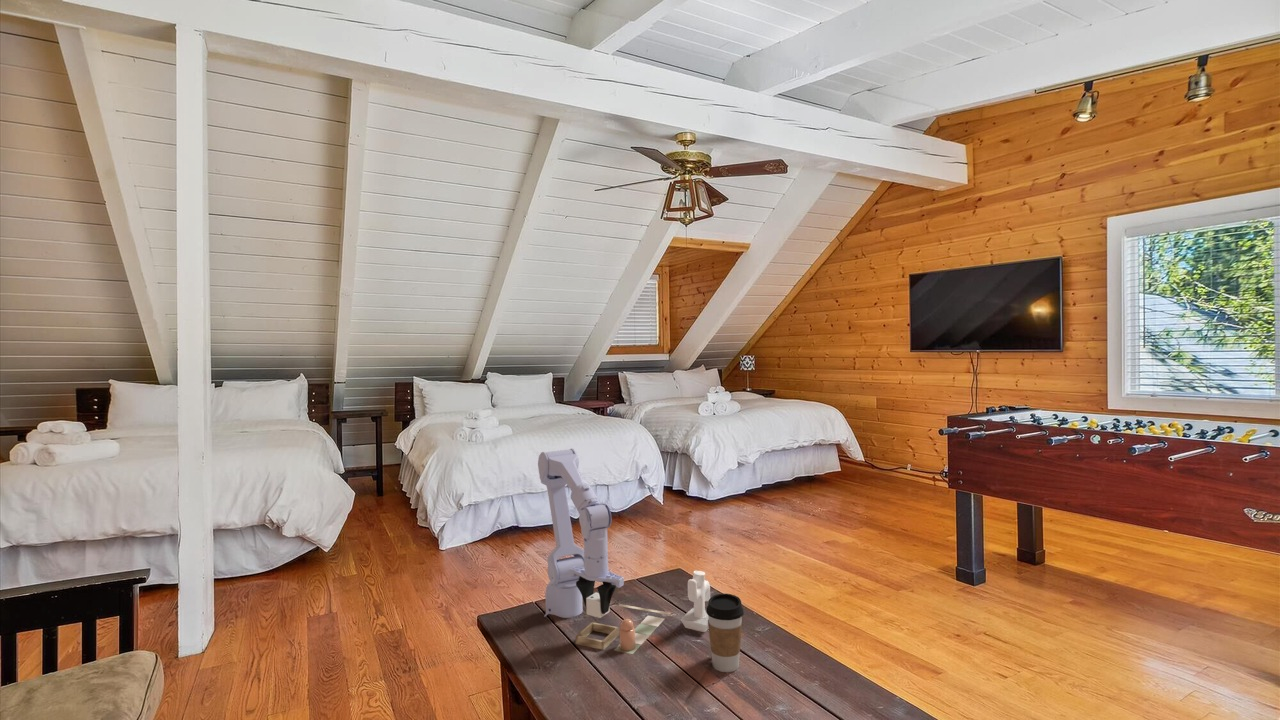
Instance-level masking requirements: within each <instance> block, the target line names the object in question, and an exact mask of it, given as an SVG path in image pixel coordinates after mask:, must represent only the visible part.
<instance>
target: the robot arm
mask: <svg viewBox="0 0 1280 720" xmlns="http://www.w3.org/2000/svg"><path fill="white" fill-rule="evenodd" d="M579 462H580V459H579V455H578V452H577V451H576V450H575V448H569V449H563V450H562V449H561V450H554V451H542V452H540V454H539V456H538V460H537V468H538V475H539V479H540V483H541V484H542V485H545V486H546V488H547V489H546V491H547V495H548V501H549V507H550V508H549V509H550V515H551V520H552V527H553V535H554V541H555V547H554V549H553V550H552V551H551V552H549V554H548V556H547V559H546V560H547V576H548V579H549V581H548V584H547V585H546V589H545V595H544V596H545V614H544V616H543V617H544V618H545V617H547V616H548V615H553V616H557V617H560V618H563V619H572V618H573V619H574V618H575V617H577V616H580V614H582V613H583V612H584V610H583V608H584V607H583V603H584V606H585V611H587V607H586V598H587V597H589V596H591V595H592V594H594V593H595V584H596V582H598V583H601V584H600V585H598V586H597V587H596V590H597V593H599V596H600V602H601V613H602V614H605V613H606V612H608V611H609V605H611V601H612V598H613V595H614V592H615V590H616V589H617V588H621V587H623V586H625V578H624V576H621V575H618V574H616V573H614V572H612V571H609V552H608V551H609V549H608V548H609V547H608V545H609V543H608V542H609V541H608V528H610V527H611V525H612V521H613V520H612V513H611V508H610V506H609V505H608V503H605V502H603V501H600V500H599V498H598V497H597V495H596V493H595V491H594V489H593V487H592V486H590V484H586V483H585V482H584V481H583V478H582V475H581V474H580V472H579V471H580V470H579ZM566 486H568V488H569V489H570V491H571V492H570V499H571V501H572V503H573V505H574V507H575V508H576V509H575V510H577V513H578V514H579V516H578V521H579V525H580V529H581V530H580V531H581V537H582V538H583V548H582V547H580V546H578V545H577V544H575V540H574V534H573V527H572V522H571V520H572V519H571V514H570V508H569V504H568V503H569V501H568V497H567V490H566ZM568 556H569V557H568ZM564 557H565V558H564ZM608 613H609V612H608Z"/></svg>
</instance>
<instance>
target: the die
mask: <svg viewBox="0 0 1280 720" xmlns="http://www.w3.org/2000/svg"><path fill="white" fill-rule="evenodd" d="M610 605H611V604H610ZM610 605H609V611H608V612H606V613H605V614H602V613H601V602H600V596H599V592H594V594H592V595H591V596H589V597H587V598H586V607H587V610H586V615H588V616H590V617H595V618H598V619H601V618H602V617H604V616H606V615H607V614H608V613H610V612H611V611H610V608H611V607H610ZM586 607H585V608H586Z"/></svg>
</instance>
